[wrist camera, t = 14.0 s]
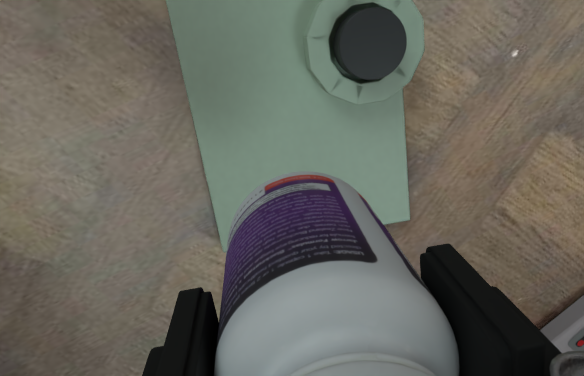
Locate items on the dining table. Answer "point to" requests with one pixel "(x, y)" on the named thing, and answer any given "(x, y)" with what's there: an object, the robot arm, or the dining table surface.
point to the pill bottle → (324, 290)
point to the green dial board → (292, 99)
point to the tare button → (370, 43)
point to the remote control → (567, 328)
